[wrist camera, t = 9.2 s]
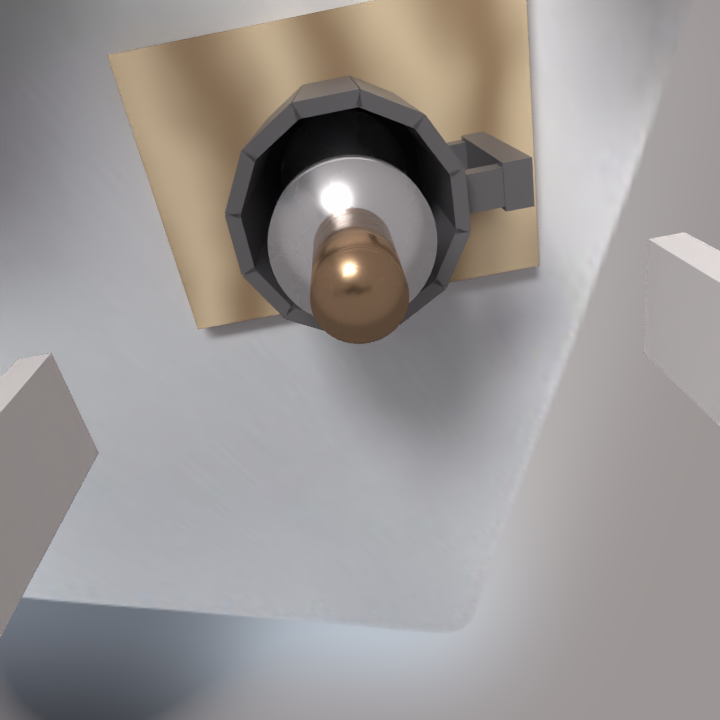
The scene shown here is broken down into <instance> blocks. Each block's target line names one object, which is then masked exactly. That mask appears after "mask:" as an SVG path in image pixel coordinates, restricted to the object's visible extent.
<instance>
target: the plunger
mask: <svg viewBox="0 0 720 720" xmlns="http://www.w3.org/2000/svg"><path fill="white" fill-rule="evenodd" d="M281 184H282V190H283V192H282V194H281V196H280V198H279V200H278V201H277V204H276V206H275V209H274V212H273V215H272V218H271V221H270V226H269V230H268V254H269V260H270V264H271V267H272V270H273V273H274V275H275V277H276V279H277V281H278V283H279V285H280V286H281V288H282V289H283V291H284V292H285V293H286V295H287V296H288V297H289V298H290V299H291V300H292V301H293V302H294V303H295V304H296V305H297V306H298V307H300V308H301V309H303V310H304V311H306V312H307V313H309V314H311V315H313V316H314V317H315V319H316V321H317V322H318V324H319V325H320V326H321V328H322V329H323V330H324V331H326V332H327V333H328V334H329V335H331V336H332V337H334V338H336V339H338V340H341V341H343V342H348V343H354V344H363V343H370V342H374V341H377V340H379V339H382V338H384V337H385V336H387V335H388V334H390V333H391V332H392V331H394V330H395V329H396V328H397V327H398V325H399V324H400V323H401V321H402V320H403V318H404V316H405V314H406V312H407V309H408V305H409V303H410V302H411V301H412V300H413V299H414V298H415V297H416V296H417V295H418V293H419V292H420V291H421V290H422V288H423V287H424V285H425V284H426V282H427V280H428V278H429V276H430V274H431V271H432V269H433V266H434V263H435V258H436V253H437V230H436V225H435V220H434V217H433V214H432V211H431V209H430V207H429V205H428V203H427V201H426V199H425V198H424V196H423V195H422V193H421V192H420V190H419V189H418V187H417V186H416V184H415V183H414V182H413V181H412V180H411V179H410V178H409V177H408V176H407V175H406V165H405V160H404V156H403V153H402V150H401V148H400V146H399V144H398V142H397V140H396V139H395V138H394V136H393V135H392V133H391V132H390V131H389V130H388V129H387V128H386V126H384V125H383V124H382V123H381V122H380V121H379V120H377V119H375V118H374V117H372V116H370V115H368V114H366V113H364V112H360V111H357V110H351V109H347V110H341V111H336V112H331V113H326V114H321V115H316V116H314V117H312V118H310V119H309V120H307V121H306V122H305V123H304V124H302V125H301V126H300V127H299V129H298V130H297V131H296V132H295V133H294V135H293V136H292V138H291V139H290V141H289V143H288V145H287V147H286V150H285V153H284V155H283V160H282V164H281Z"/></svg>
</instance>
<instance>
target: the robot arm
mask: <svg viewBox="0 0 720 720" xmlns="http://www.w3.org/2000/svg"><path fill="white" fill-rule="evenodd" d="M647 262H648V263H647V285H646V306H645V329H644V353H645V354H646V355H647V356H648V357H649V358H650V359H651V360H652V361H653V362H654V363H655V364H656V365H657V366H658V367H659V368H660V369H661V370H662V371H663V372H664V373H665V374H666V375H667V376H668V377H669V378H670V379H671V380H673V381H674V382H675V383H676V384H677V385H678V386H679V387H680V388H681V389H682V390H683V391H684V392H685V393H686V394H687V395H688V396H689V397H690V398H691V399H692V400H693V401H694V402H695V403H696V404H698V406H699V407H700V408H701V409H702V410H703V411H705V412H706V413H707V414H708V415H709V416H710V417H711V418H712V419H713V420H714V421H715V422H716V423H717V424H718V425H719V426H720V251H719V250H717V249H715V248H713V247H711V246H709V245H707V244H706V243H704V242H702V241H700V240H698V239H696V238H694V237H692V236H690V235H689V234H687V233H678V234H673V235H668V236H663V237H657V238H652V239H649V240H648V261H647ZM97 455H98V451H97V449H96V446H95V444H94V442H93V440H92V438H91V436H90V434H89V432H88V429H87V427H86V425H85V423H84V421H83V419H82V417H81V415H80V412H79V410H78V408H77V406H76V404H75V402H74V400H73V398H72V395H71V393H70V391H69V389H68V387H67V385H66V383H65V381H64V378H63V376H62V374H61V372H60V370H59V368H58V366H57V364H56V361H55V359H54V357H53V355H52V353H47V354H42V355H37V356H31V357H26V358H21V359H17V360H16V361H15V362H14V364H13V365H12V366H11V367H10V368H9V369H8V370H7V371H6V372H5V373H4V374H3V375H2V376H1V377H0V637H1V635H2V633H3V631H4V629H5V627H6V626H7V624H8V622H9V620H10V618H11V616H12V614H13V613H14V611H15V609H16V607H17V605H18V603H19V601H20V599H21V598H22V596H23V594H24V592H25V590H26V588H27V586H28V584H29V583H30V581H31V579H32V577H33V575H34V573H35V571H36V569H37V568H38V566H39V564H40V562H41V560H42V558H43V556H44V554H45V552H46V551H47V549H48V547H49V545H50V543H51V541H52V539H53V537H54V536H55V534H56V532H57V530H58V528H59V526H60V524H61V522H62V521H63V519H64V517H65V515H66V513H67V511H68V509H69V507H70V506H71V504H72V502H73V500H74V498H75V496H76V494H77V492H78V491H79V489H80V487H81V485H82V483H83V481H84V479H85V477H86V476H87V474H88V472H89V470H90V468H91V466H92V464H93V462H94V461H95V459H96V457H97Z"/></svg>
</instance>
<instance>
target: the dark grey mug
mask: <svg viewBox="0 0 720 720" xmlns="http://www.w3.org/2000/svg"><path fill="white" fill-rule="evenodd" d="M347 109H351V110H357V111H360V112H364V113H366V114H368V115H370V116H372V117H374V118H375V119H377V120H379V121H380V122H381V123H382V124H383V125H384V126H386V128H387V129H388V130H389V131H390V132H391V133H392V135H393V136H394V138H395V139H396V140H397V142H398V144H399V146H400V148H401V150H402V153H403V156H404V160H405V165H406V175H407V176H408V177H409V178H410V179H411V180H412V181H413V182H414V183H415V184H416V186H417V187H418V189H419V190H420V192H421V193H422V195H423V196H424V198H425V199H426V201H427V203H428V205H429V207H430V209H431V211H432V214H433V217H434V220H435V225H436V230H437V253H436V258H435V263H434V266H433V269H432V271H431V274H430V276H429V278H428V280H427V282H426V284H425V285H424V287H423V288H422V290H421V291H420V292H419V293H418V295H417V296H416V297H415V298H414V299H413V300H412V301H411V302H410V303H409V305H408V309H407V312H406V314H405V316H404V318H403V320H402V321H401V323H403V322H404V321H405V320H406V319H408V318H409V317H410V316H412V315H413V314H414V313H415V312H417V311H418V310H419V309H421V308H422V307H423V306H424V305H426V304H427V303H428V302H430V301H431V300H432V299H433V298H435V297H436V296H437V295H439V294H440V293H441V292H442V291H444V290H445V287H446V288H447V286H448V283H449V281H450V279H451V277H452V274H453V272H454V270H455V268H456V265H457V263H458V261H459V259H460V256H461V254H462V252H463V250H464V247H465V245H466V243H467V241H468V238H469V236H470V234H471V232H470V231H471V224H470V213H475V212H480V211H486V210H491V209H496V208H503V209H504V210H505V211H506V212H507V211H513V210H518V209H523V208H528V207H534V206H535V205H534V184H533V163H532V157H531V156H529V155H527V154H525V153H523V152H521V151H519V150H518V149H516V148H514V147H512V146H510V145H508V144H506V143H505V142H503V141H501V140H499V139H497V138H495V137H493V136H492V135H490V134H488V133H486V132H484V131H482V132H477V133H472V134H467V135H462V136H461V140H458V141H452V142H447V143H446V142H445V140H444V139H443V138H442V136H441V135H440V134H439V132H438V131H437V130H436V128H435V127H434V126H433V124H432V123H431V121H430V120H429V119H428V117H427V116H426V115H425V114H424V113H422V112H421V111H419V110H418V109H416V108H415V107H414V106H412V105H411V104H409V103H408V102H406V101H405V100H403V99H402V98H400V97H399V96H397V95H396V94H395V93H393V92H391V91H388V90H385V89H383V88H380V87H378V86H375V85H373V84H370V83H368V82H365V81H363V80H360V79H357V78H355V77H352V76H350V77H349V75H348V76H343V77H338V78H333V79H328V80H323V81H318V82H313V83H308V84H303V86H301V87H300V88H299V89H298V90H296V91H295V92H294V93H293V94H292V95H291V96H290V97H289V98H288V99H287V100H286V101H285V102H284V103H283V104H282V105H281V106H280V107H279V108H278V109H277V110H276V111H275V112H274V113H273V114H271V115H270V116H269V117H268V119H267V120H266V121H265V122H264V123H263V125H262V126H261V127H260V128H259V130H258V131H257V132H256V133H255V134H254V136H253V137H252V138H251V139H250V140H249V142H248V143H247V144H246V145H245V147H244V148H243V149H242V151H241V153H240V157H239V161H238V165H237V168H236V172H235V176H234V180H233V184H232V188H231V191H230V195H229V199H228V203H227V207H226V210H225V219H226V222H227V226H228V229H229V233H230V236H231V240H232V243H233V247H234V250H235V254H236V257H237V261H238V264H239V268H240V272H241V275H243V277H244V278H245V279H246V280H247V281H248V282H249V283H250V284H251V285H252V286H253V287H254V288H255V289H256V290H257V291H258V292H259V293H260V294H261V295H262V296H263V297H264V298H265V299H266V300H267V301H268V302H269V303H270V304H271V305H272V306H273V307H274V308H275V309H276V310H277V311H278V312H279V313H280V314H281V315H282V316H283V317H284V318H285V317H286V318H285V319H288V320H291V321H294V322H297V323H301V324H304V325H307V326H311V327H314V328H317V329H320V330H323V329H322V328H321V326H320V325H319V324H318V322H317V321H316V319H315V317H314V316H313V315H311V314H309V313H307V312H306V311H304V310H303V309H301V308H300V307H298V306H297V305H296V304H295V303H294V302H293V301H292V300H291V299H290V298H289V297H288V296H287V295H286V293H285V292H284V291H283V289H282V288H281V286H280V285H279V283H278V281H277V279H276V277H275V275H274V273H273V270H272V267H271V264H270V260H269V254H268V230H269V226H270V221H271V218H272V215H273V212H274V209H275V206H276V204H277V201H278V200H279V198H280V196H281V194H282V192H283V190H282V184H281V164H282V160H283V155H284V153H285V150H286V147H287V145H288V143H289V141H290V139H291V138H292V136H293V135H294V133H295V132H296V131H297V130H298V129H299V127H300V126H301V125H302V124H304V123H305V122H306V121H307V120H309V119H310V118H312V117H314V116H316V115H321V114H326V113H331V112H336V111H341V110H347ZM401 323H400V324H401Z"/></svg>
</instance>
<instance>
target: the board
mask: <svg viewBox="0 0 720 720" xmlns="http://www.w3.org/2000/svg"><path fill="white" fill-rule="evenodd" d="M107 56H108V59H109V62H110V65H111V69H112V72H113V75H114V78H115V81H116V84H117V87H118V90H119V93H120V96H121V99H122V102H123V105H124V108H125V111H126V114H127V117H128V120H129V123H130V126H131V129H132V132H133V135H134V138H135V141H136V144H137V147H138V150H139V153H140V156H141V159H142V162H143V165H144V168H145V171H146V174H147V177H148V180H149V183H150V186H151V189H152V192H153V195H154V198H155V201H156V204H157V207H158V210H159V213H160V216H161V219H162V222H163V225H164V228H165V231H166V234H167V237H168V240H169V243H170V246H171V249H172V252H173V255H174V258H175V261H176V264H177V267H178V270H179V273H180V276H181V279H182V282H183V285H184V288H185V291H186V294H187V297H188V300H189V303H190V306H191V310H192V313H193V316H194V319H195V322H196V325H197V328H198V329H203V328H208V327H213V326H219V325H224V324H230V323H235V322H240V321H246V320H251V319H256V318H262V317H267V316H272V315H278V314H280V313H279V312H278V311H277V310H276V309H275V308H274V307H273V306H272V305H271V304H270V303H269V302H268V301H267V300H266V299H265V298H264V297H263V296H262V295H261V294H260V293H259V292H258V291H257V290H256V289H255V288H254V287H253V286H252V285H251V284H250V283H249V282H248V281H247V280H246V279H245V278H244V277H243V275H241V272H240V268H239V264H238V261H237V257H236V254H235V250H234V247H233V243H232V240H231V236H230V233H229V229H228V226H227V222H226V219H225V210H226V207H227V203H228V199H229V195H230V191H231V188H232V184H233V180H234V176H235V172H236V168H237V165H238V161H239V157H240V153H241V151H242V149H243V148H244V147H245V145H246V144H247V143H248V142H249V140H250V139H251V138H252V137H253V136H254V134H255V133H256V132H257V131H258V130H259V128H260V127H261V126H262V125H263V123H264V122H265V121H266V120H267V119H268V117H269V116H270V115H271V114H273V113H274V112H275V111H276V110H277V109H278V108H279V107H280V106H281V105H282V104H283V103H284V102H285V101H286V100H287V99H288V98H289V97H290V96H291V95H292V94H293V93H294V92H295V91H296V90H298V89H299V88H300V87H301V86H303V84H308V83H313V82H318V81H323V80H328V79H333V78H338V77H343V76H348V75H349V77H350V76H352V77H355V78H357V79H360V80H363V81H365V82H368V83H370V84H373V85H375V86H378V87H380V88H383V89H385V90H388V91H391V92H393V93H395V94H396V95H397V96H399V97H400V98H402V99H403V100H405V101H406V102H408V103H409V104H411V105H412V106H414V107H415V108H416V109H418V110H419V111H421V112H422V113H424V114H425V115H426V116H427V117H428V119H429V120H430V121H431V123H432V124H433V126H434V127H435V128H436V130H437V131H438V132H439V134H440V135H441V136H442V138H443V139H444V140H445V142H446V143H447V142H452V141H458V140H461V136H462V135H467V134H472V133H477V132H482V131H484V132H486V133H488V134H490V135H492V136H493V137H495V138H497V139H499V140H501V141H503V142H505V143H506V144H508V145H510V146H512V147H514V148H516V149H518V150H519V151H521V152H523V153H525V154H527V155H529V156H531V157H532V163H533V184H534V205H535V206H534V207H528V208H523V209H518V210H513V211H507V212H506V211H505V210H504V209H503V208H496V209H491V210H486V211H480V212H475V213H470V224H471V231H470V232H471V234H470V236H469V238H468V241H467V243H466V245H465V247H464V250H463V252H462V254H461V256H460V259H459V261H458V263H457V265H456V268H455V270H454V272H453V274H452V277H451V279H450V281H449V282H454V281H460V280H465V279H471V278H476V277H481V276H487V275H492V274H497V273H503V272H508V271H513V270H519V269H524V268H529V267H535V266H539V254H538V233H537V212H536V191H535V170H534V148H533V127H532V106H531V85H530V64H529V42H528V21H527V0H374V1H369V2H364V3H360V4H355V5H350V6H345V7H340V8H335V9H330V10H325V11H321V12H316V13H311V14H306V15H301V16H296V17H291V18H287V19H282V20H277V21H272V22H267V23H262V24H257V25H252V26H248V27H243V28H238V29H233V30H228V31H223V32H218V33H213V34H209V35H204V36H199V37H194V38H189V39H184V40H179V41H175V42H170V43H165V44H160V45H155V46H150V47H145V48H140V49H136V50H131V51H126V52H121V53H116V54H111V55H107Z"/></svg>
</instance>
